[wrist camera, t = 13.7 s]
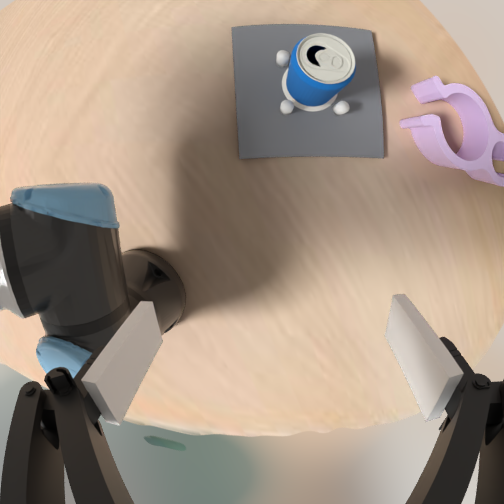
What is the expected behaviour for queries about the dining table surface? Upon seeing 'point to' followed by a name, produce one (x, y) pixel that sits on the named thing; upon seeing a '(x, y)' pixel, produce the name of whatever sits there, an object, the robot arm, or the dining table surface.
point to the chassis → (298, 115)
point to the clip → (474, 126)
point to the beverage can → (319, 69)
